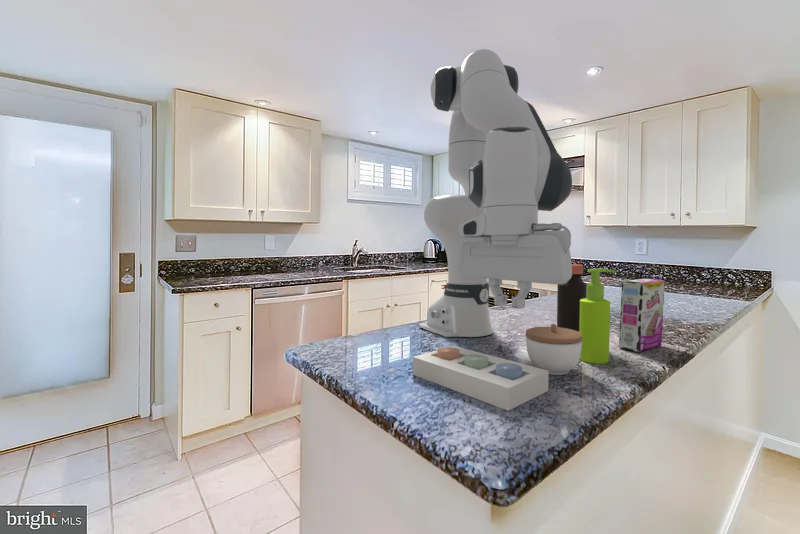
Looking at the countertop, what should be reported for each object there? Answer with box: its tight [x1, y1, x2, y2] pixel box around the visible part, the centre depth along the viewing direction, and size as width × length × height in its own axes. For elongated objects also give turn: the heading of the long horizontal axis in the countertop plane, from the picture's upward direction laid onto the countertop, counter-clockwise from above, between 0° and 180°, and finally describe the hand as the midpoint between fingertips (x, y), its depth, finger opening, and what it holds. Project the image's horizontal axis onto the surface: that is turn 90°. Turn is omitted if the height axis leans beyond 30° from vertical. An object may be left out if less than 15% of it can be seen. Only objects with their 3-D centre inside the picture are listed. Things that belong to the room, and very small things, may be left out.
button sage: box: [464, 355, 489, 370], centre depth 72 cm, size 4×4×3 cm
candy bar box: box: [618, 278, 666, 353], centre depth 94 cm, size 11×5×16 cm, turn 123°
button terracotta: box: [436, 346, 460, 361], centre depth 78 cm, size 4×4×3 cm
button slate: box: [496, 363, 522, 380], centre depth 67 cm, size 4×4×3 cm
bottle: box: [556, 263, 587, 332], centre depth 98 cm, size 7×7×20 cm
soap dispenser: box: [579, 267, 618, 365], centre depth 84 cm, size 6×7×20 cm
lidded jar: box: [525, 323, 583, 376], centre depth 79 cm, size 11×11×9 cm
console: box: [412, 345, 549, 412], centre depth 72 cm, size 22×12×4 cm, turn 40°
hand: (509, 306), depth 66 cm, fingers open, 2 cm apart
